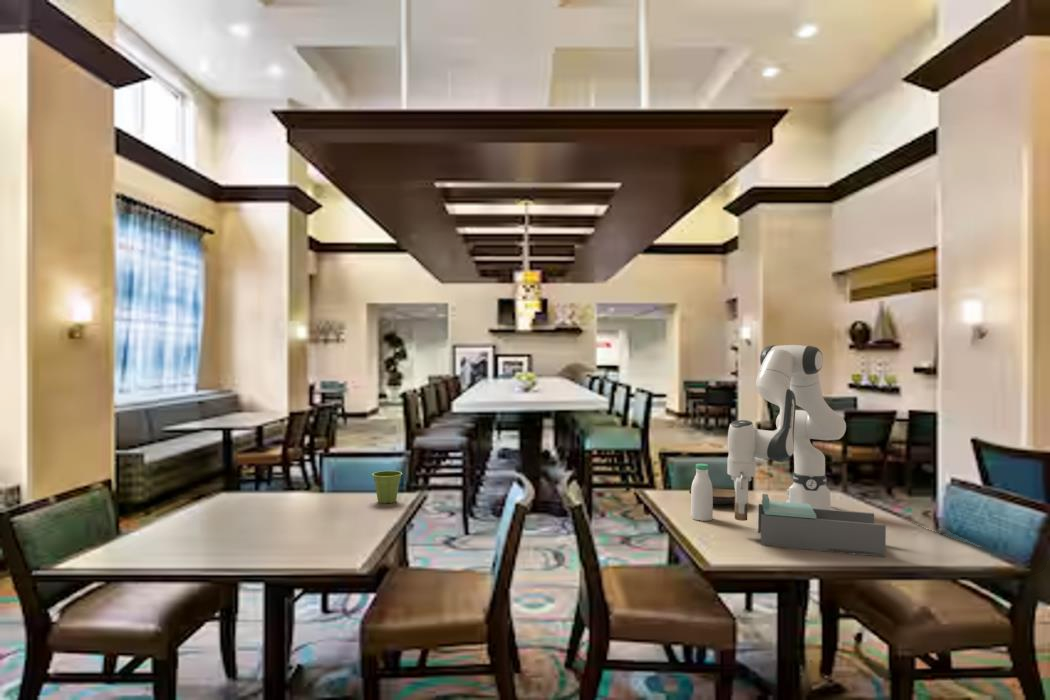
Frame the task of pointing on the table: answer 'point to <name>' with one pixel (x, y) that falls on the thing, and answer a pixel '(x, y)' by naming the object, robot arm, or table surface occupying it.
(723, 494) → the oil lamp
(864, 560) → the table surface
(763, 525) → the housing
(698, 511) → the milk bottle
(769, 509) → the lid
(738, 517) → the tan rounded cylinder
